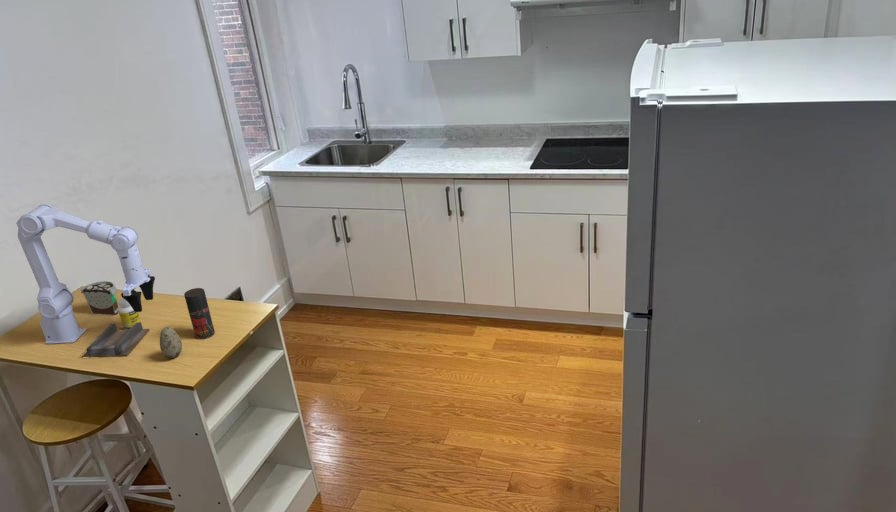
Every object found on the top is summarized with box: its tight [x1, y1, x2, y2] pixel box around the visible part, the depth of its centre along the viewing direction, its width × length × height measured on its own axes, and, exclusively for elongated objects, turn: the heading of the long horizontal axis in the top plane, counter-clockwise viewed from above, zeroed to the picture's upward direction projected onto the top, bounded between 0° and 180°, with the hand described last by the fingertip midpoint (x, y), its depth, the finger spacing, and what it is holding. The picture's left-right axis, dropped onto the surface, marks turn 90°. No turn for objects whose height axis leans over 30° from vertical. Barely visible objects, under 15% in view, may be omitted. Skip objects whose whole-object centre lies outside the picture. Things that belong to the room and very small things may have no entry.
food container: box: [80, 280, 119, 316], centre depth 226 cm, size 12×6×10 cm, turn 77°
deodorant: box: [183, 287, 216, 340], centre depth 205 cm, size 6×6×15 cm
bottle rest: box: [82, 322, 150, 358], centre depth 206 cm, size 14×15×3 cm
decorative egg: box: [159, 326, 183, 358], centre depth 196 cm, size 6×6×10 cm
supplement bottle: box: [117, 298, 142, 330], centre depth 215 cm, size 5×5×10 cm
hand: (144, 305), depth 208 cm, fingers open, 7 cm apart
